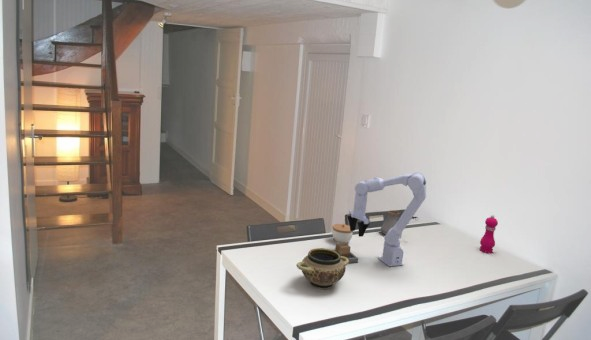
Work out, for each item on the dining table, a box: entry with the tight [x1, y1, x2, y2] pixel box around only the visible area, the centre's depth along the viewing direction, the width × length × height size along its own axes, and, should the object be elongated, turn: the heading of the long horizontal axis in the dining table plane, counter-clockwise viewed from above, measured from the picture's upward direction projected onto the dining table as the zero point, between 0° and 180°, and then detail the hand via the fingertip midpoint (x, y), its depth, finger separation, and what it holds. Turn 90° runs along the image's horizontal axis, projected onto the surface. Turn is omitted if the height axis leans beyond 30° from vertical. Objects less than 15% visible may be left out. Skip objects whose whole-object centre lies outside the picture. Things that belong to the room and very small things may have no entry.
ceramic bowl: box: [296, 247, 349, 290], centre depth 183 cm, size 24×18×15 cm
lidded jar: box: [331, 223, 354, 244], centre depth 233 cm, size 11×11×9 cm
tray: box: [332, 249, 359, 265], centre depth 212 cm, size 11×11×2 cm
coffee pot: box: [380, 210, 419, 236], centre depth 247 cm, size 21×12×15 cm, turn 39°
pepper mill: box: [479, 214, 498, 254], centre depth 238 cm, size 7×7×20 cm
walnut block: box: [334, 242, 351, 258], centre depth 211 cm, size 5×5×6 cm
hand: (356, 233), depth 219 cm, fingers open, 7 cm apart
